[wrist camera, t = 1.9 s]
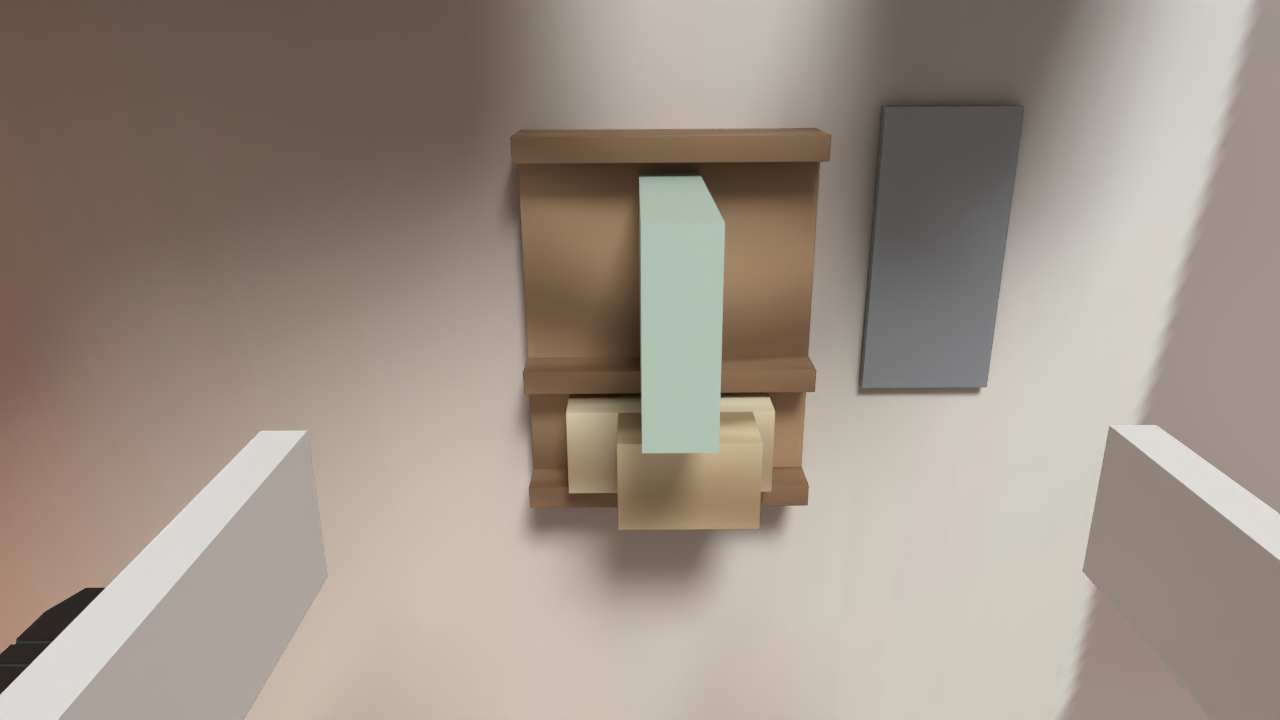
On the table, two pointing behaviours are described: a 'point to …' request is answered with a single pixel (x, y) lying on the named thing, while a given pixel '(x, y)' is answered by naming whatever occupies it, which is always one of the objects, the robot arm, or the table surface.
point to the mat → (938, 244)
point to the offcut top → (690, 480)
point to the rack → (610, 277)
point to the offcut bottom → (598, 427)
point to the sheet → (680, 313)
